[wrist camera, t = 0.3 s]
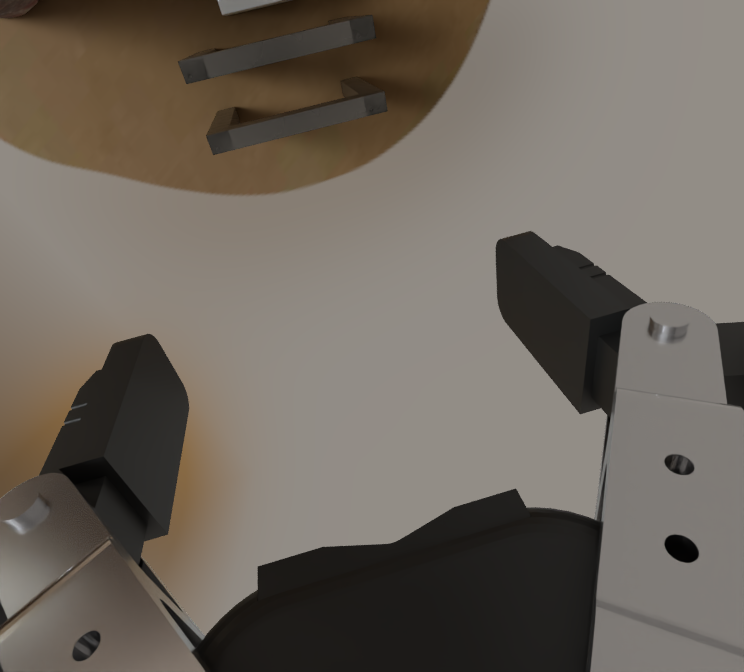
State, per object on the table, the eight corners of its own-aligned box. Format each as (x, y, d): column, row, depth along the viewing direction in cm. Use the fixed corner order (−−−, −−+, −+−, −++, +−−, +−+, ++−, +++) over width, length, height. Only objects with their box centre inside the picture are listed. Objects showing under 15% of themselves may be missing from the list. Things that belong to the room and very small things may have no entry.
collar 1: (196, 52, 30) (178, 61, 23) (345, 16, 31) (372, 14, 23) (203, 70, 31) (186, 83, 24) (349, 34, 31) (376, 38, 24)
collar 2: (217, 111, 32) (205, 136, 25) (357, 76, 33) (384, 91, 25) (223, 126, 33) (213, 155, 26) (360, 92, 33) (387, 111, 26)
